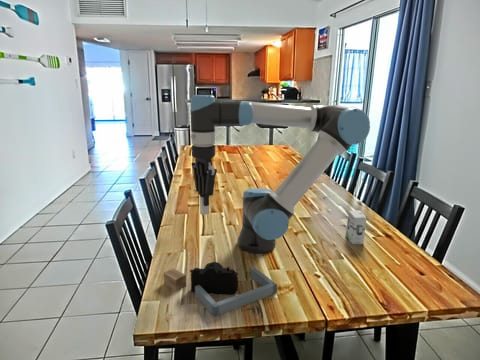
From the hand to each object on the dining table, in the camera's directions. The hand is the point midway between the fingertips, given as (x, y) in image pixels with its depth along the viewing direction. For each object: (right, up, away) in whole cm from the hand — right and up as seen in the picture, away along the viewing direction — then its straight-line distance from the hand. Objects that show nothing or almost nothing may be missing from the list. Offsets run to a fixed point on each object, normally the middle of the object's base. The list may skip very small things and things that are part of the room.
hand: (204, 213), depth 119 cm
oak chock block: (-9, -22, -6) cm, 25 cm away
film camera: (+4, -23, -7) cm, 24 cm away
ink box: (+60, -14, +28) cm, 68 cm away
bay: (+11, -24, -11) cm, 28 cm away
